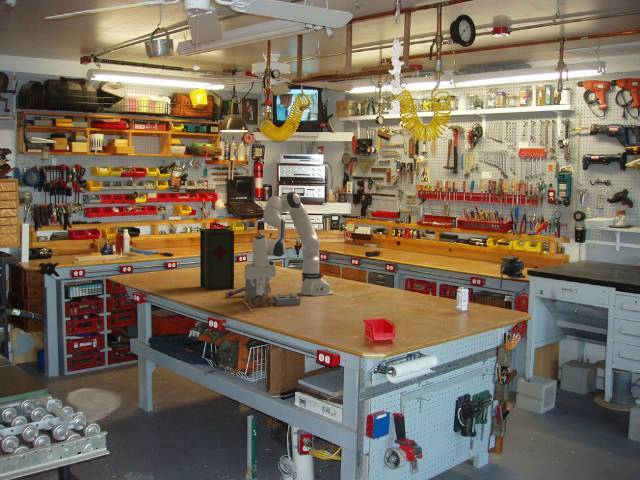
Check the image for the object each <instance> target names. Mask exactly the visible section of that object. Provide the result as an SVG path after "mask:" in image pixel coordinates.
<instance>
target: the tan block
mask: <svg viewBox="0 0 640 480" xmlns="http://www.w3.org/2000/svg"><path fill="white" fill-rule="evenodd" d="M289 295H290V296H291V297H292V298H296V296H298V293H297V292H292V291H291V292H290V293H289Z"/></svg>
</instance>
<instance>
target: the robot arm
mask: <svg viewBox="0 0 640 480" xmlns="http://www.w3.org/2000/svg"><path fill="white" fill-rule="evenodd" d="M301 199H302V198H301V196H300V195H299V193H298V192H296V191H289V192H287V193H284V194H280V195H279V196H277V195H274V196H270V197H269V198H268V200H267V202H266V204H265V207H264V211H263V220H264V222H265V223H266V224H267V225H269V226H270V227H272V228H275V229H277V239H268V238H267V236H266V235H265V234H258V235H255V236H254V237H253V241H252V254H253V255H252V263H247V264H246V265H244V275H243V278H244V280H246V279H247V280H250V282H251V284H252V287H254V286H255V283H253V281H254V279H259V278H267V281H266V282H265V285H269V283H270V280H271V278H275V277H276V274H277V272H276V271H277V269H276V262H275V261H274V260H270V259H268V257H269V256H271V257H282V256H284V255H285V253H286V250H287V249H286V248H287V246H286V221H285V219H284V218H283V217H282V214H283V213H287V212H289V216H290V218H291V220H292V221H291V222H292V223H293V226H294V227H295V230H296V233H297V234H298V236H299V239H300V242H301V244H302V271H301V285H300V286H301V287H300V291H299V294H300V295H304V296H305V295H306V296H312V297H313V296H314V297H315V296H316V297H318V296H319V297H320V296H328V295H329V296H330V295H334V293H335V292H334V291H333V290H331V285H330V283H328V281H327V280H325V279H324V276H325V274H324V273H321V272H320V248H321V241H320V238H319V236H318V235H317V232H316V229H315V227H314V225H313V223H312V221H311V218H310V216H309V214H308V211H307V210H306V208H305V205H304V204H303V203H302V201H301Z"/></svg>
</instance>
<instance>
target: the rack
mask: <svg viewBox="0 0 640 480" xmlns="http://www.w3.org/2000/svg"><path fill="white" fill-rule="evenodd" d="M247 305H248V307H249V308H250V309H251V310H252V309H253V308H261V307H263V308H264V307H267V308H268V307H272V297H271V296H270V295H269V294H266V295H263V297H262V298H258V295H248V301H247Z"/></svg>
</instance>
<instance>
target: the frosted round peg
mask: <svg viewBox="0 0 640 480" xmlns="http://www.w3.org/2000/svg"><path fill="white" fill-rule="evenodd" d="M262 297H263V283H258V298H262Z"/></svg>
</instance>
